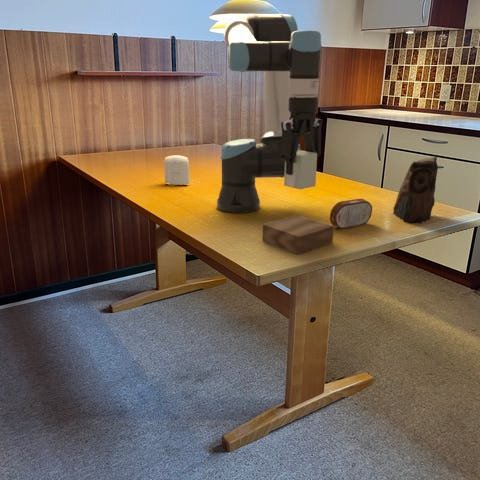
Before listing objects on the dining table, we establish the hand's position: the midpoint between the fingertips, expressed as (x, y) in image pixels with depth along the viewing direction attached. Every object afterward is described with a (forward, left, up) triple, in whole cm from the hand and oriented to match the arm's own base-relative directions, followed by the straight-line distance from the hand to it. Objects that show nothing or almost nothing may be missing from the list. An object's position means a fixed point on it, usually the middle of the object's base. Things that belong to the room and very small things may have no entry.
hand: (299, 184), depth 133 cm
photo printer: (-80, +12, -17) cm, 83 cm away
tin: (+1, +23, -17) cm, 29 cm away
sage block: (0, 0, 0) cm, 0 cm away
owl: (+8, +46, -17) cm, 50 cm away
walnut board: (0, 0, -17) cm, 17 cm away
